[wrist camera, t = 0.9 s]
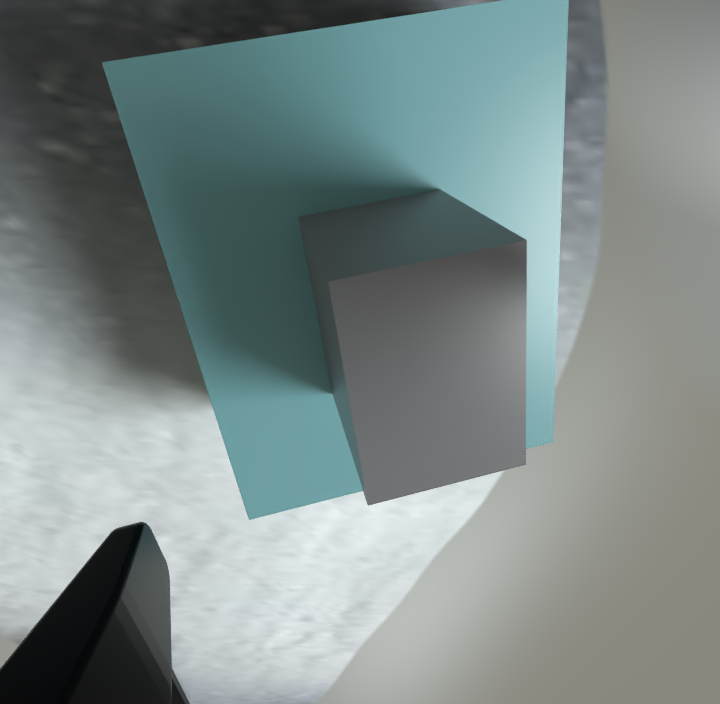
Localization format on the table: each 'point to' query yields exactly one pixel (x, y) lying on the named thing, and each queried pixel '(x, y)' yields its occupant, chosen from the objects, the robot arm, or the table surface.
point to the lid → (364, 242)
